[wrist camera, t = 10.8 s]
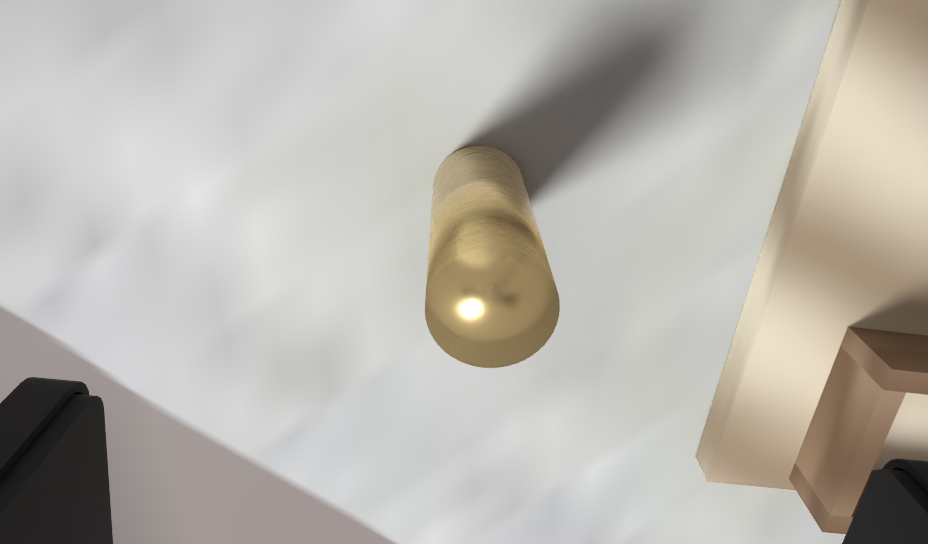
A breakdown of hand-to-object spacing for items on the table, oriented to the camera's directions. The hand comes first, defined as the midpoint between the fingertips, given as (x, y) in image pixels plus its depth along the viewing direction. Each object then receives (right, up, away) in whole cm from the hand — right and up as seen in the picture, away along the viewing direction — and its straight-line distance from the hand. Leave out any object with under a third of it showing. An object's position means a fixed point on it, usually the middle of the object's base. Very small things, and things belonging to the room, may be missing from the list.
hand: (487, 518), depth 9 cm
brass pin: (0, +5, +11) cm, 12 cm away
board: (+13, +3, +12) cm, 18 cm away
